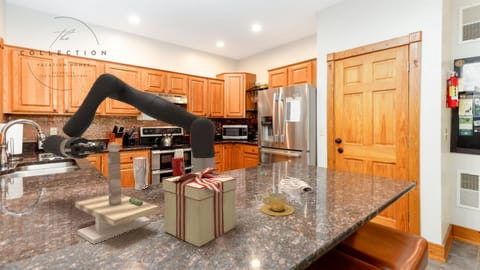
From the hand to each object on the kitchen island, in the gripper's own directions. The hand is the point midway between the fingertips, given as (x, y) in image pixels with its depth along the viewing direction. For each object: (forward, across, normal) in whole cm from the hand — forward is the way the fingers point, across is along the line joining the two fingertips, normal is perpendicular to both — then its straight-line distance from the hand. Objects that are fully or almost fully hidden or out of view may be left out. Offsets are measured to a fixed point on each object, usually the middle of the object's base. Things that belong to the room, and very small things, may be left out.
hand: (98, 149), depth 74 cm
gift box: (+33, +13, +24) cm, 43 cm away
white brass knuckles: (+37, +68, +25) cm, 81 cm away
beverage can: (-10, +40, +23) cm, 48 cm away
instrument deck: (+11, -1, +17) cm, 20 cm away
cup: (+43, +40, +24) cm, 63 cm away
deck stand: (+10, -1, +23) cm, 25 cm away
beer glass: (-25, +29, +23) cm, 45 cm away
